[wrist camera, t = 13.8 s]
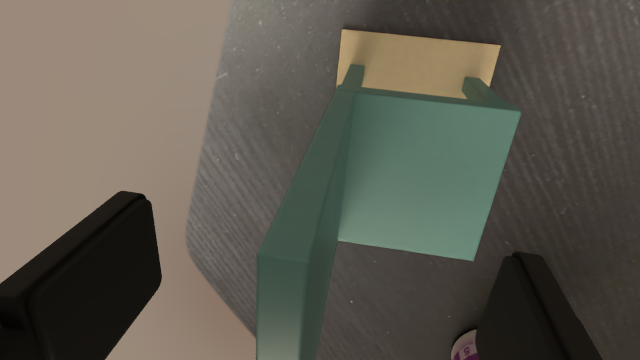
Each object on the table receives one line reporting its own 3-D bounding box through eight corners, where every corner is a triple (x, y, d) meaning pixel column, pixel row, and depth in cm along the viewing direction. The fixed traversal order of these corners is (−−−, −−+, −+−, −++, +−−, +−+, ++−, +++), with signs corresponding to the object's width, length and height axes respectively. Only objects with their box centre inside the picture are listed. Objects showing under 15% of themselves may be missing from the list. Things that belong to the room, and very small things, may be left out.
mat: (342, 28, 20) (341, 29, 20) (499, 45, 20) (501, 45, 19) (325, 195, 25) (325, 197, 25) (453, 213, 24) (453, 215, 24)
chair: (348, 61, 21) (255, 253, 6) (482, 76, 20) (779, 337, 5) (335, 178, 24) (253, 500, 9) (451, 194, 23) (576, 572, 8)
